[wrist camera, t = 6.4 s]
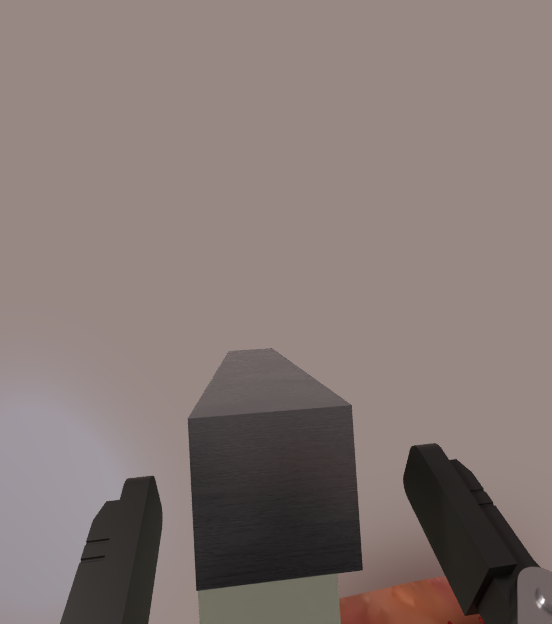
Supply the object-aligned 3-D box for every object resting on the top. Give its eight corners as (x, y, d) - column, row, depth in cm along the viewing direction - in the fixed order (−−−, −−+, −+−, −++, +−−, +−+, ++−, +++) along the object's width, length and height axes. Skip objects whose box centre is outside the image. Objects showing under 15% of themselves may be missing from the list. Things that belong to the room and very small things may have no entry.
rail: (196, 591, 8) (188, 418, 9) (231, 394, 33) (228, 351, 34) (362, 569, 9) (351, 405, 9) (274, 391, 34) (271, 348, 34)
